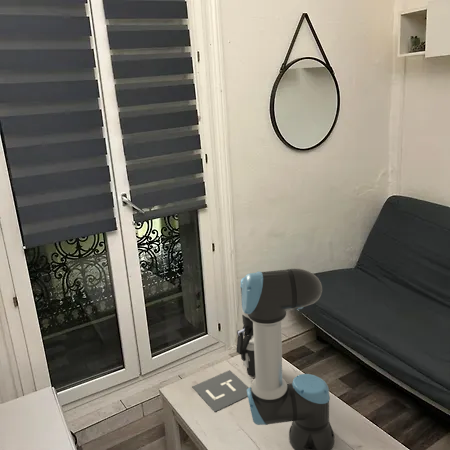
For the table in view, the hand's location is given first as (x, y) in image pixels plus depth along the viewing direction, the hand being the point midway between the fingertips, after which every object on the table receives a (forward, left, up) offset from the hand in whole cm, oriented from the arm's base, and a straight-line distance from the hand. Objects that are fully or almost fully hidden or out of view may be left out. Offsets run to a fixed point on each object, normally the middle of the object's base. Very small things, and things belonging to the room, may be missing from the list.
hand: (254, 362), depth 197 cm
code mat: (-2, +17, -5) cm, 18 cm away
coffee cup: (0, 0, -4) cm, 4 cm away
